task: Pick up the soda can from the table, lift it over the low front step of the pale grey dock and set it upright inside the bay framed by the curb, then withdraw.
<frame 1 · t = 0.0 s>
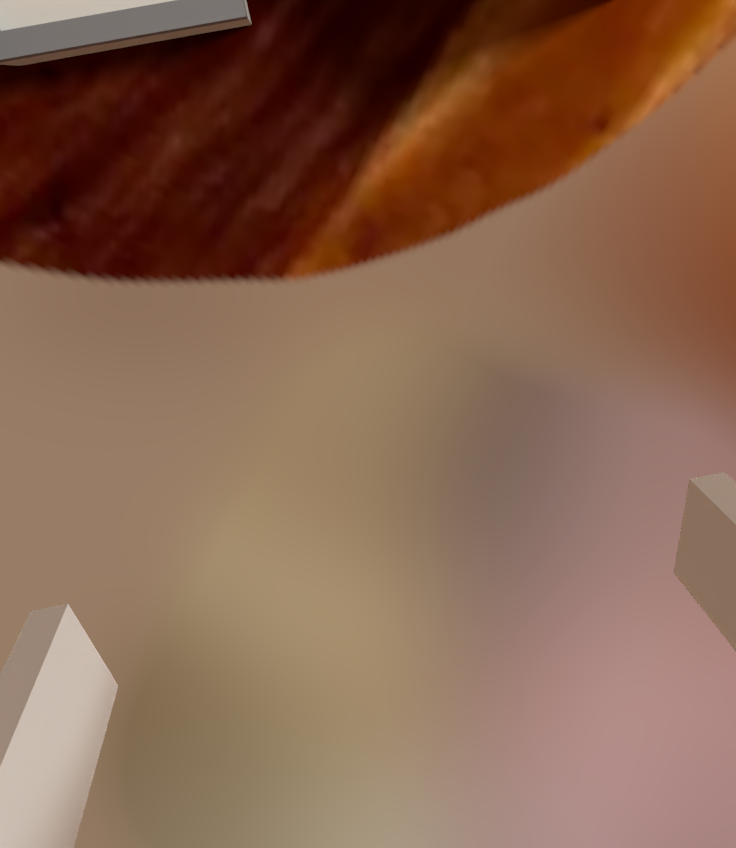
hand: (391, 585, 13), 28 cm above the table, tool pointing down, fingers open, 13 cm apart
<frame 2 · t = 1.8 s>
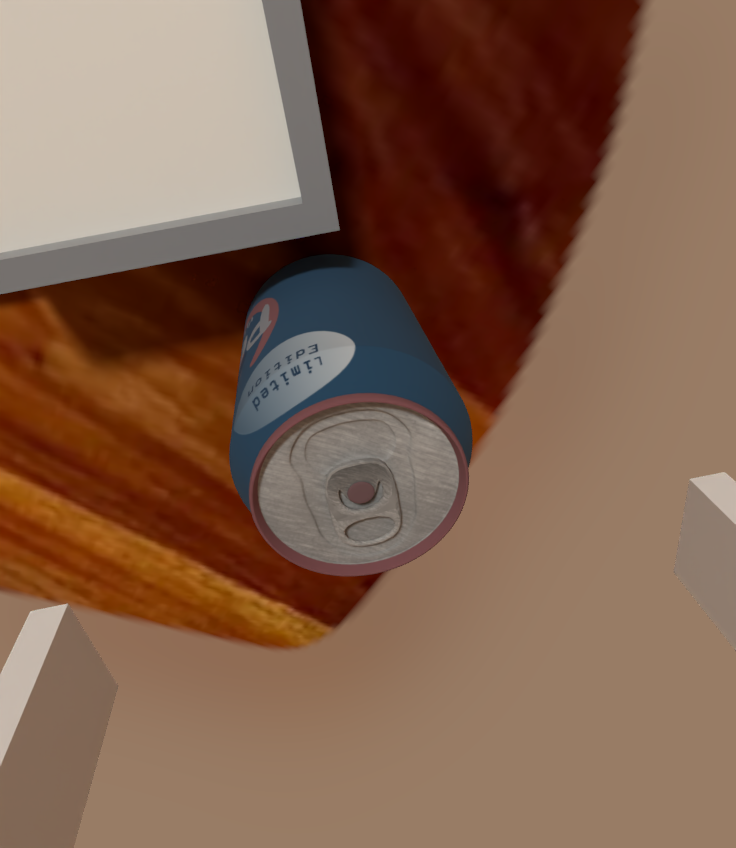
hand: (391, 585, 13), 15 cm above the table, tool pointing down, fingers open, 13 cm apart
soda can: (327, 325, 25), on the table
dock: (117, 48, 19), on the table
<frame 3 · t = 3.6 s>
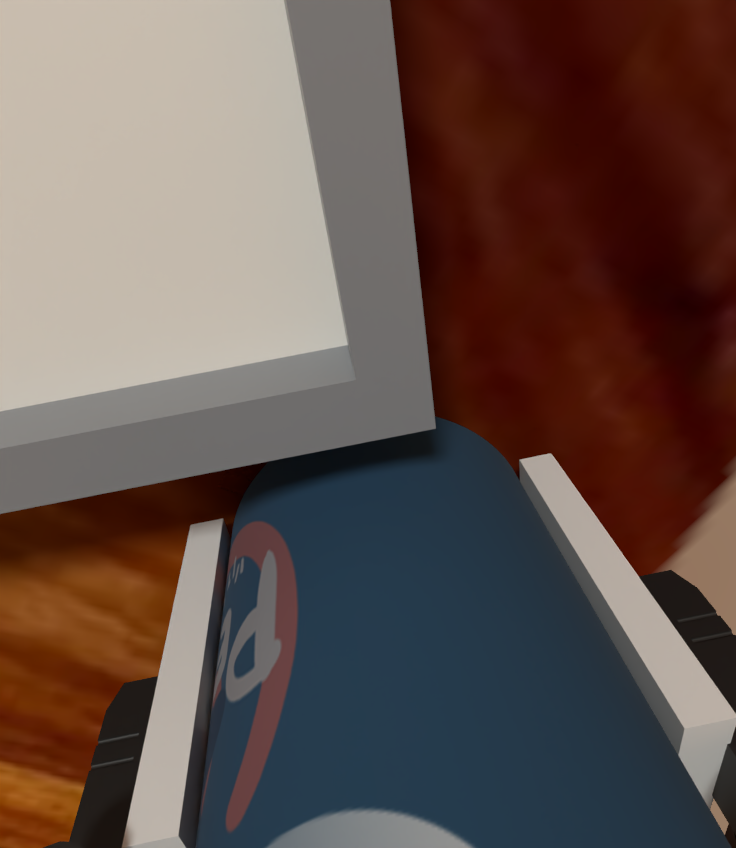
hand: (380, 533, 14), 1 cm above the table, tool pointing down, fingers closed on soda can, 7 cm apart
soda can: (373, 500, 15), on the table, touching gripper
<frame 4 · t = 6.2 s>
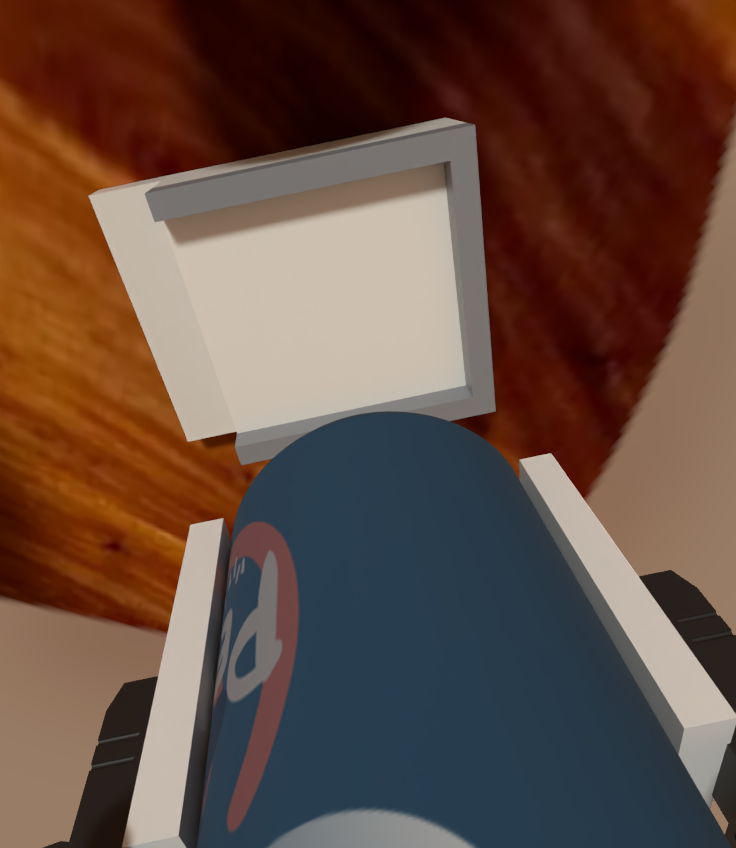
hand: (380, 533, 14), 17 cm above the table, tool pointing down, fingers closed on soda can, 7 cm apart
soda can: (374, 501, 15), point 16 cm above the table, touching gripper
dock: (335, 282, 28), on the table
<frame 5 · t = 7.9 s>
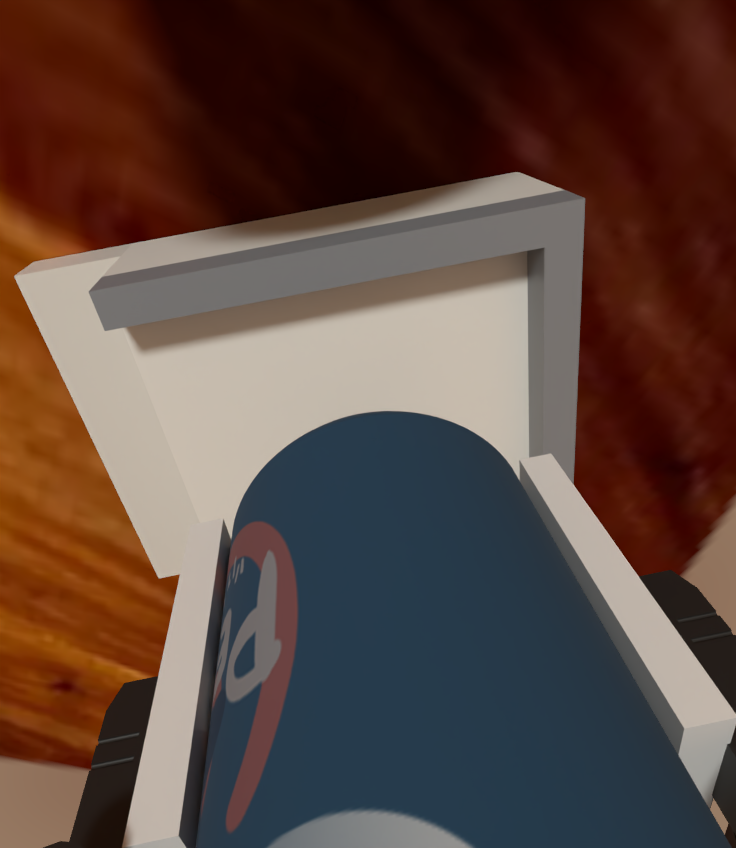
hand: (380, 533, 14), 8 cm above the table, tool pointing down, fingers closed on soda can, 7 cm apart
soda can: (373, 501, 15), point 7 cm above the table, touching gripper
dock: (358, 379, 21), on the table
when the fingers open (6 cm above the table, at t = 9.1 s): soda can drops 1 cm, resting on dock.
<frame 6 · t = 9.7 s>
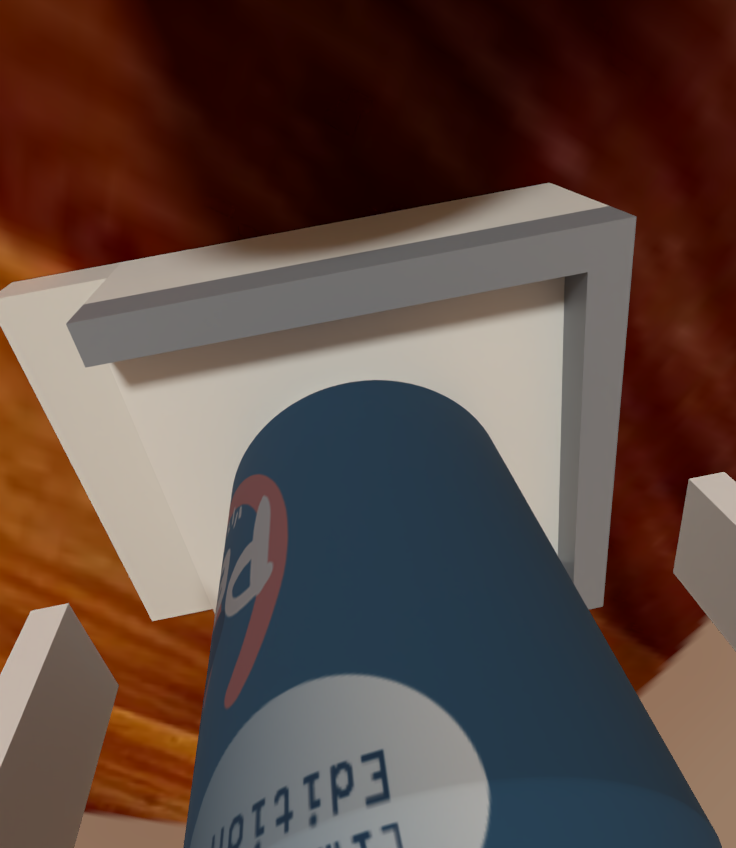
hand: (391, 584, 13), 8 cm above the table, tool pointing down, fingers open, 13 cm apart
soda can: (363, 469, 16), point 3 cm above the table, touching dock
dock: (369, 408, 19), on the table
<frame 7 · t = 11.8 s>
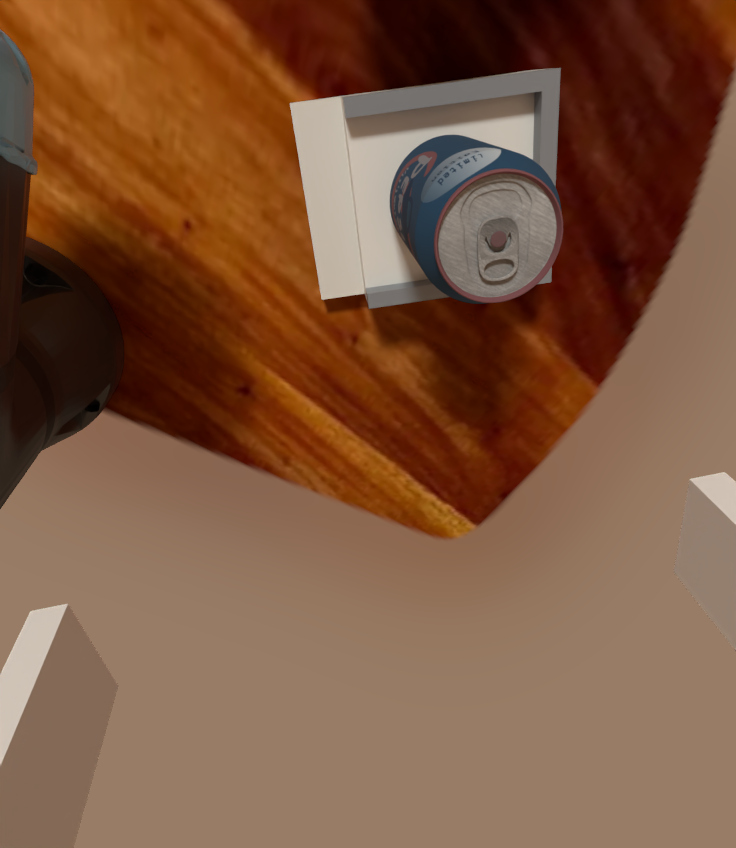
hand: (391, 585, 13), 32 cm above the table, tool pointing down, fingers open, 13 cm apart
soda can: (442, 195, 36), point 3 cm above the table, touching dock
dock: (440, 186, 39), on the table
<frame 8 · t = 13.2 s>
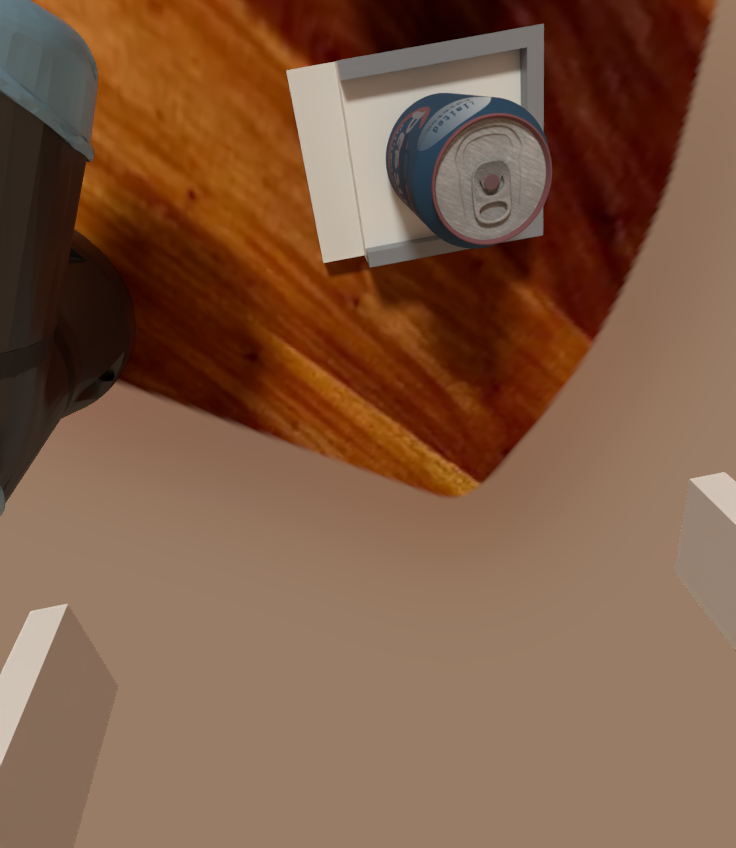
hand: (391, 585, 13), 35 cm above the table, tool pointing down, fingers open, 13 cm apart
soda can: (435, 154, 38), point 3 cm above the table, touching dock
dock: (433, 148, 40), on the table
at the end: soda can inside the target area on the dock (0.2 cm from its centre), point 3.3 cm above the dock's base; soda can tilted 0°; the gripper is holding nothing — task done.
